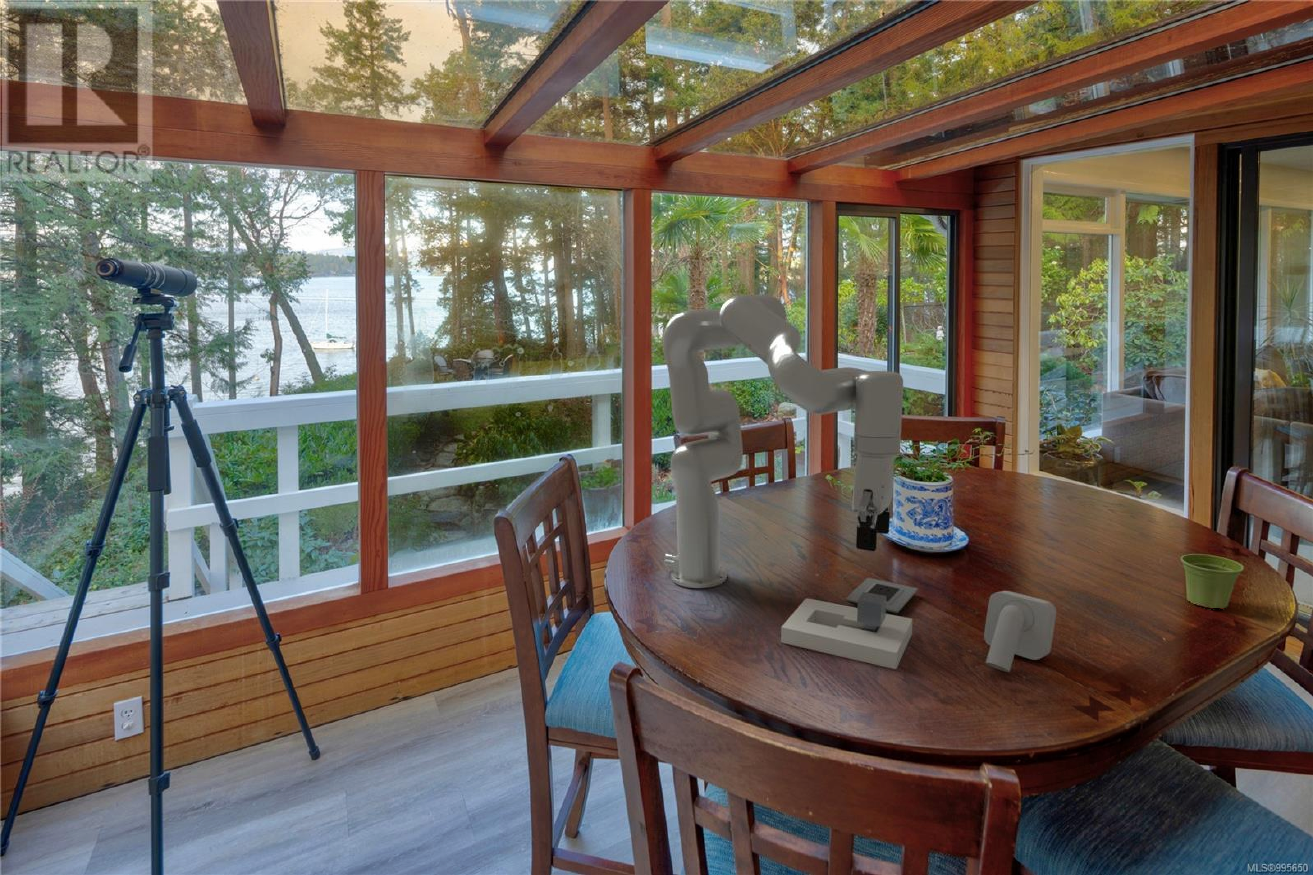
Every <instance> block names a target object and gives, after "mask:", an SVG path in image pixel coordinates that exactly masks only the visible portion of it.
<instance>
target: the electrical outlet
mask: <svg viewBox="0 0 1313 875" xmlns="http://www.w3.org/2000/svg"><path fill="white" fill-rule="evenodd" d="M918 590H919V588H917V587H913V586H908V585H903V584H899V583H894V582H889V581H885V580H880V579H876V578H872V577H867V578H866V579H865V580H864V581H863V582H862V583H861V584H860V585H858V586H857V587H856V588H855V589H853V591H852V592H850V594H848V596H846V597H845V598H844V601H845V602H847V603H849V604H852V605H855V606H858V599H859V598H860V596H861V595H862V593H863V592H867V593H873V594H878V595H883V596H886V613H887V614H892V615H897V614H899V612H901V611H902V609H903V608H904V607H905V606H906V604H907V603H908V602H909V601H910V600H911V599H912V598H913V597H914V595H915V594H916V593H917V592H918Z"/></svg>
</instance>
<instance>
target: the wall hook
mask: <svg viewBox="0 0 1313 875" xmlns="http://www.w3.org/2000/svg"><path fill="white" fill-rule="evenodd" d="M1056 617H1057V608H1056V606H1055V605H1054V604H1053V603H1052V602H1050V601H1048V600H1045V599H1043V598H1038V597H1032V596H1030V595H1025V594H1021V593H1019V592H1015V591H1010V590H1002V591H997V592H994V593H992V594H991V595H990V597H989V599H988V606H987V612H986V619H985V625H984V632H983V637H984V638H983V639H984V641H985V642H986V644H987V645H988V646H989V650H988V654H987V656H986V661H985V664H986V665H988V666H989V667H991V668H994V669H996V670H999V671H1001V672H1002V671H1003V672H1006V673H1010V672H1011V670H1012V666H1013V665H1012V663H1013V662H1014V657H1015V655H1017V656H1020V657H1022V658H1026V659H1029V660H1034V661H1037V660H1041V659H1042V658H1044V657H1046V656H1048V655H1049V654H1050V652H1051V649H1052V642H1053V637H1054V631H1055V624H1056Z"/></svg>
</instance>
